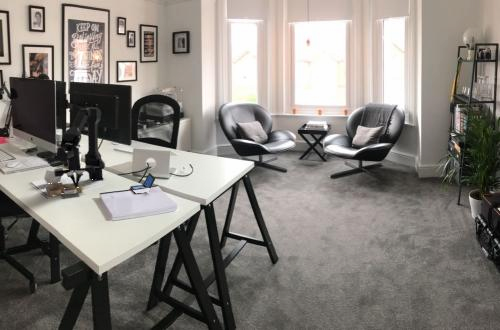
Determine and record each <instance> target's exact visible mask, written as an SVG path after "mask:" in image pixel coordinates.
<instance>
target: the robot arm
mask: <svg viewBox="0 0 500 330" xmlns="http://www.w3.org/2000/svg"><path fill="white" fill-rule="evenodd" d="M101 116H102V110H101V109H100V108H99V107H86V108H79V109H78V113H77V115H76V117H75V120H74V121H73V123H72V124H71V125H72V126H71V127H69V128H68V129H66V130H65V132H64V134H63V136H62V137H61V141H60V145H59V150H58V151H57V152H56V154H55V157H56V159H57V160H58V161H59V162H61V163H63V167H64V168H67V169H63V167H60V168H54V169H55V170H54V175H55V177H59V176H62V177H63V176H64V174H66V176H67V177H68V178H70V179H71V181H72V183H74V185H75V187H77V186H78V183H79V184H80V180H81V177H82V176H84V173H85V172H86V173H87V174H88V178H89V180H90V179H91V180H92V179H93V180H94V181H100V180H101V181H102V180H104V178H103V176H104V175H103V169H105V167H106V163H105V162H104V161H103V158H102V154H101V153H100V151H99V136H98V135H99V134H98V131H99V130H98V127H99V125H98V124H99V122H100V121H101V119H102V118H101ZM86 123H87V138H88V140H87V141H88V143H87V144H88V151H87V153H85V154H84V164H85V166H84V167H81V158H80V147H81V145H80V142H81V141H82V134H81V133H82V130H83V128H84V127H85V124H86ZM74 173H75V174H74ZM91 180H90V181H91Z"/></svg>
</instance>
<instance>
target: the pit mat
mask: <svg viewBox="0 0 500 330" xmlns="http://www.w3.org/2000/svg"><path fill="white" fill-rule="evenodd" d="M77 197H78V198H79V197H80V193H76V192H73V193H72V192H71V193H66V194H65V193H64V194H62V195H60V198H61V199H70V198H71V199H72V198H77Z"/></svg>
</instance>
